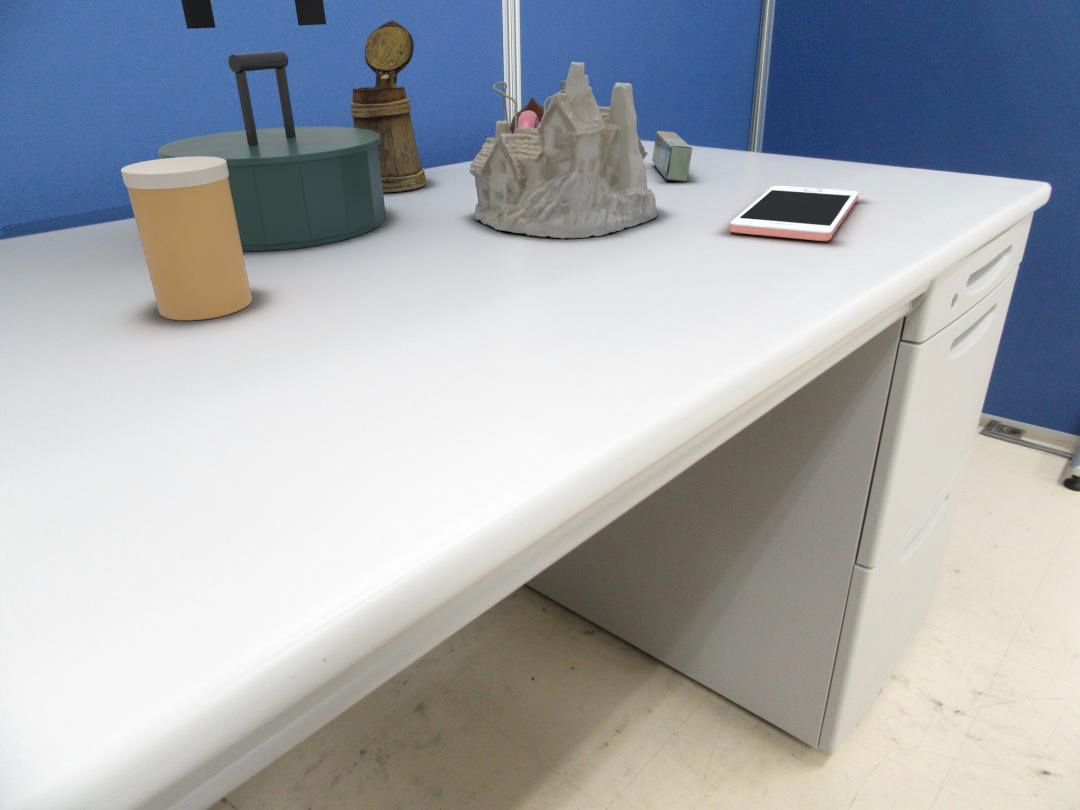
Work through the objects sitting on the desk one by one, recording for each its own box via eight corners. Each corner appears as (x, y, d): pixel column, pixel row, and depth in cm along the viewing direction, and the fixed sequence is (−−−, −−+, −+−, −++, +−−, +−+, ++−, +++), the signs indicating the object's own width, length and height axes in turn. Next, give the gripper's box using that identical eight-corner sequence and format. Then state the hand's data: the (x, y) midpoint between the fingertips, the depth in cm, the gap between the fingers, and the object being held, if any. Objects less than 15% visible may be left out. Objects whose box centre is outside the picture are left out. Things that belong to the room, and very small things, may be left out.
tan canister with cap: (137, 313, 56) (98, 170, 52) (209, 286, 62) (180, 154, 57) (202, 326, 54) (167, 176, 49) (272, 297, 59) (247, 159, 54)
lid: (111, 165, 72) (83, 59, 68) (272, 134, 88) (257, 47, 84) (277, 180, 64) (257, 59, 60) (422, 143, 80) (414, 46, 76)
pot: (139, 238, 76) (118, 158, 72) (283, 198, 91) (271, 129, 88) (291, 260, 67) (276, 171, 64) (422, 212, 83) (415, 137, 79)
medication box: (688, 182, 93) (693, 147, 91) (665, 181, 93) (670, 145, 91) (671, 162, 104) (675, 130, 102) (650, 161, 104) (655, 129, 102)
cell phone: (858, 199, 82) (859, 190, 82) (829, 242, 68) (830, 231, 67) (772, 193, 86) (773, 184, 85) (728, 232, 72) (728, 222, 71)
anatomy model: (478, 159, 92) (486, 50, 96) (495, 217, 105) (501, 119, 109) (566, 158, 91) (570, 48, 95) (571, 216, 104) (575, 118, 108)
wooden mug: (441, 171, 103) (428, 19, 95) (417, 193, 91) (401, 20, 83) (374, 172, 104) (357, 21, 96) (342, 193, 92) (319, 23, 84)
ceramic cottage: (681, 213, 78) (677, 48, 72) (555, 252, 69) (539, 67, 63) (576, 200, 89) (565, 56, 83) (457, 232, 80) (434, 73, 74)
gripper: (359, -292, 59) (391, 22, 69) (136, -237, 70) (191, 28, 79) (288, -323, 53) (334, 24, 63) (56, -259, 64) (126, 30, 73)
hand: (254, 27), depth 71 cm, fingers open, 13 cm apart
